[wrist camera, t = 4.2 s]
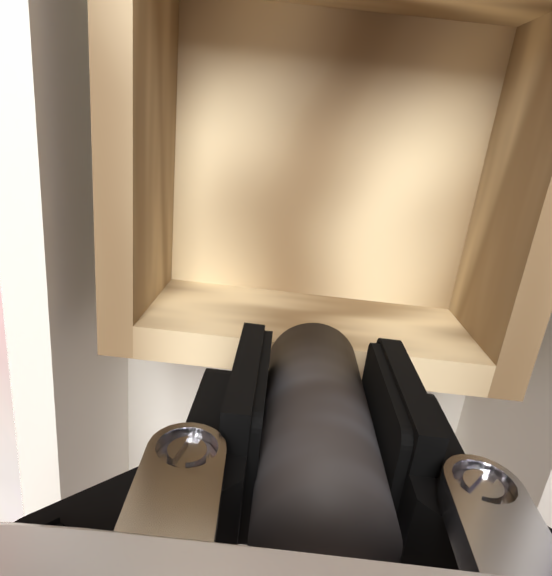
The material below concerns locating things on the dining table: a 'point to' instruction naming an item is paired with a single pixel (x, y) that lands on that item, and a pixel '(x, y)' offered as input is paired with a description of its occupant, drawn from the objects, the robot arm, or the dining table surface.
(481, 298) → the box
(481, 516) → the robot arm
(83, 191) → the bay
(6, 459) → the dining table surface
